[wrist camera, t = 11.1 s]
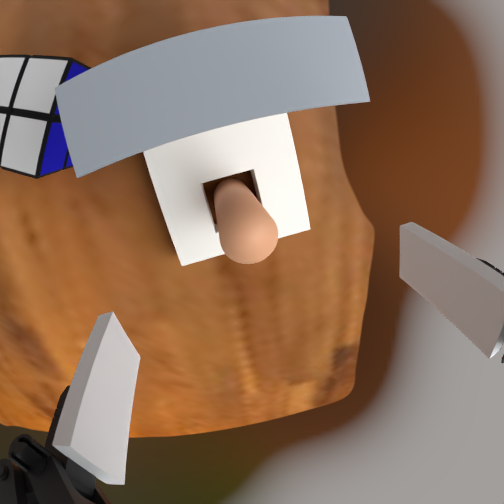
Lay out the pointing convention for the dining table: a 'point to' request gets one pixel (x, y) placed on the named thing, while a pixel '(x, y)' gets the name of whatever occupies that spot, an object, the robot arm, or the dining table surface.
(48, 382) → the dining table surface
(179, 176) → the socket board
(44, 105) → the puzzle cube
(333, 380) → the dining table surface
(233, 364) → the dining table surface
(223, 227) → the peg
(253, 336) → the dining table surface
